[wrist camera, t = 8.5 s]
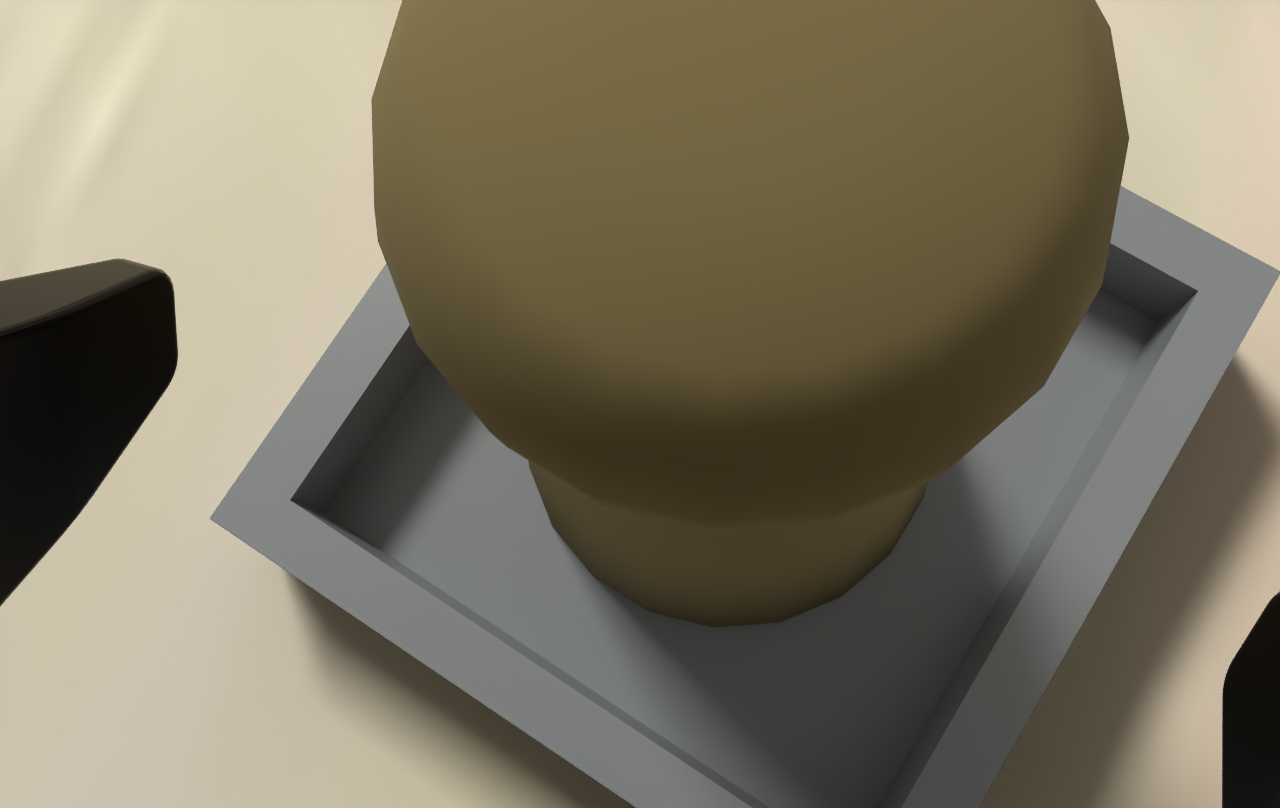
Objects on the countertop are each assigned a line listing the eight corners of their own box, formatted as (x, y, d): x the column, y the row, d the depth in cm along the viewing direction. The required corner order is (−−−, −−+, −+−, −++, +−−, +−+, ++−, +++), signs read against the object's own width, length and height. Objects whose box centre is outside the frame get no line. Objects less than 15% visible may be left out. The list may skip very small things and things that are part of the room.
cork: (704, 149, 19) (685, -551, 8) (1021, 395, 17) (1506, -29, 7) (442, 442, 18) (23, 114, 7) (755, 718, 17) (819, 823, 6)
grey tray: (861, 932, 17) (883, 975, 15) (271, 534, 19) (209, 518, 16) (1211, 318, 18) (1280, 272, 16) (634, 2, 20) (624, -80, 18)
